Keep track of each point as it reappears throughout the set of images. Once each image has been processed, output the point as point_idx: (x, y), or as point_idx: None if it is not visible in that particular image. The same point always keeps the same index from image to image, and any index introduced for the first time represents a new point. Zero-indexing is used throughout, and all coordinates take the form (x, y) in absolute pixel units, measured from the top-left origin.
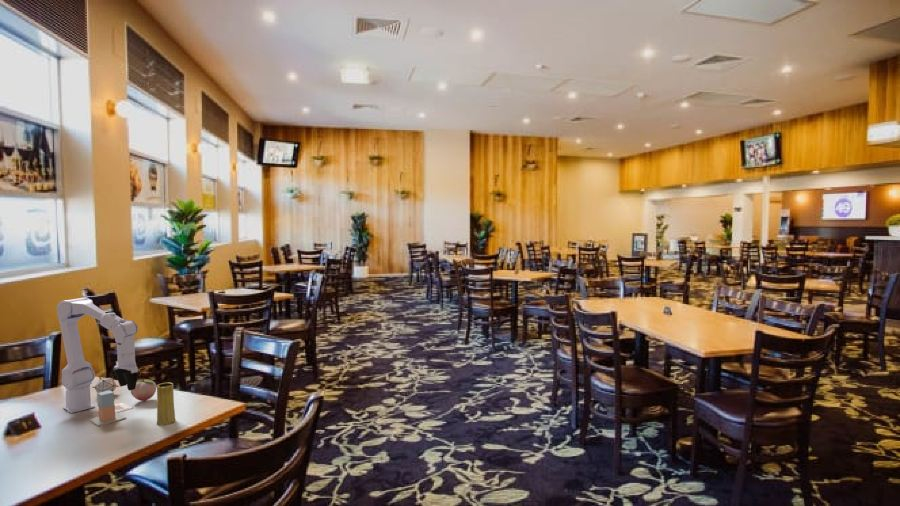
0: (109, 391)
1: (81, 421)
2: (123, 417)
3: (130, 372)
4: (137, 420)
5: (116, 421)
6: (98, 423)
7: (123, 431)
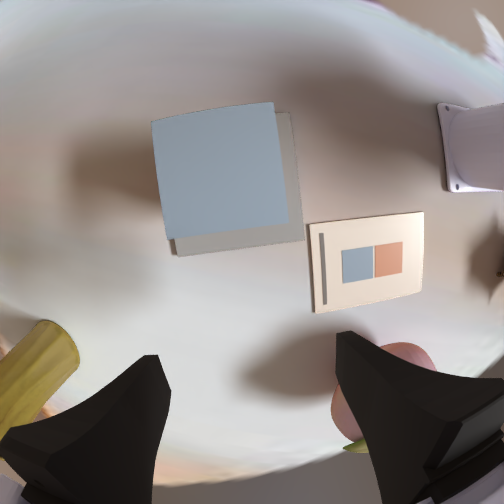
0: (234, 213)
1: (305, 88)
2: (187, 247)
3: (37, 492)
4: (124, 286)
5: None
6: None
7: (44, 212)
